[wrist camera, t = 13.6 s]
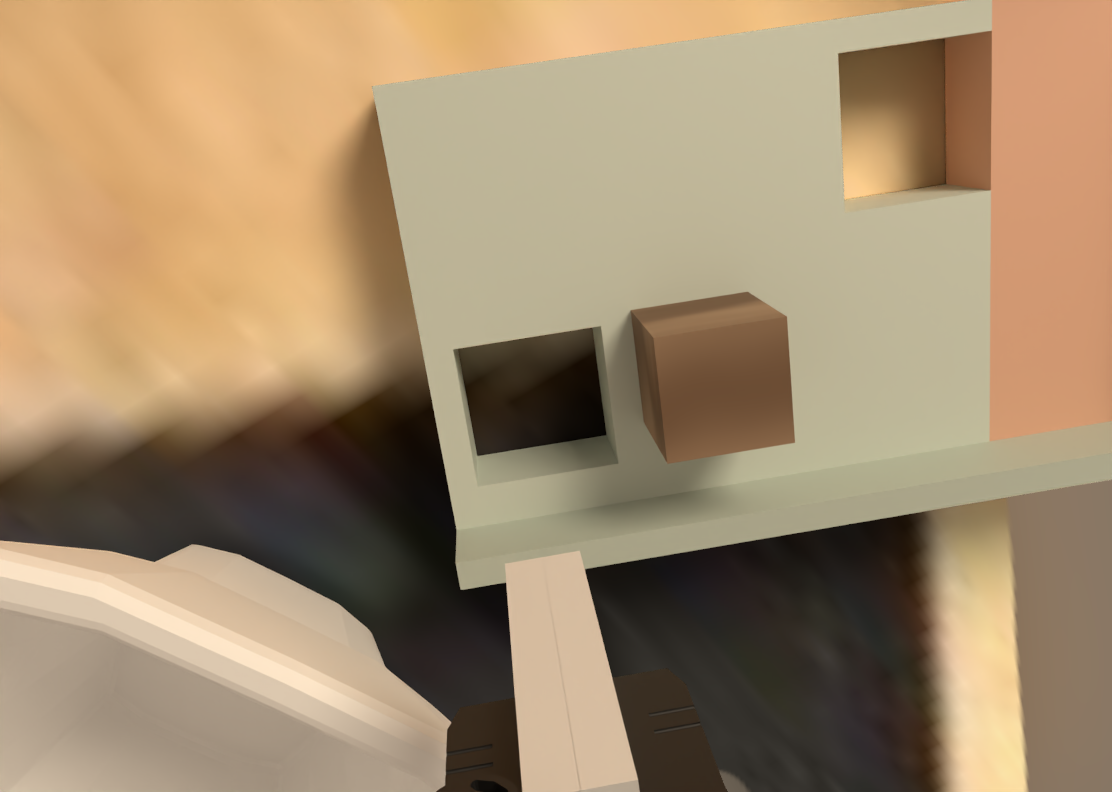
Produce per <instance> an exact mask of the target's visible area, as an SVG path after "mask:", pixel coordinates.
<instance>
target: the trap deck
mask: <svg viewBox="0 0 1112 792" xmlns="http://www.w3.org/2000/svg"><path fill="white" fill-rule="evenodd" d="M943 38H945V107H946V184H943V185H937V186H930V187H924V188H917V189H911V190H904V191H898V192H891V193H885V194H878V195H872V196H865V197H859V198H852V199H846V200H844V181H843V158H842V134H841V111H840V87H839V64H838V54H841V53H848V52H855V51H861V50H868V49H875V48H882V47H889V46H896V45H902V44H909V43H916V42H923V41H930V40H936V39H943ZM372 89H373V95H374V100H375V105H376V110H377V116H378V121H379V126H380V131H381V136H382V142H383V147H384V152H385V157H386V163H387V168H388V173H389V178H390V184H391V189H392V194H393V199H394V205H395V210H396V215H397V220H398V226H399V231H400V236H401V241H402V246H403V252H404V257H405V262H406V267H407V273H408V278H409V283H410V288H411V294H412V299H413V304H414V309H415V315H416V320H417V325H418V330H419V336H420V341H421V346H422V351H423V356H424V362H425V367H426V372H427V377H428V383H429V388H430V393H431V398H432V404H433V409H434V414H435V419H436V425H437V430H438V435H439V440H440V446H441V451H442V456H443V461H444V466H445V472H446V477H447V482H448V487H449V493H450V498H451V503H452V508H453V514H454V519H455V524H456V529H457V535H456V568H457V573H458V579H459V584H460V589H461V590H464V589H470V588H476V587H482V586H488V585H494V584H499V583H505V582H506V572H505V564H506V563H512V562H518V561H523V560H529V559H535V558H541V557H546V556H552V555H558V554H564V553H569V552H575V551H580V553H581V557H582V561H583V565H584V569H588V568H594V567H600V566H606V565H611V564H617V563H623V562H629V561H635V560H641V559H647V558H653V557H659V556H665V555H670V554H676V553H682V552H688V551H694V550H700V549H706V548H712V547H718V546H724V545H729V544H735V543H741V542H747V541H753V540H759V539H765V538H771V537H777V536H782V535H788V534H794V533H800V532H806V531H812V530H818V529H824V528H830V527H836V526H841V525H847V524H853V523H859V522H865V521H871V520H877V519H883V518H889V517H895V516H900V515H906V514H912V513H918V512H924V511H930V510H936V509H942V508H948V507H953V506H959V505H965V504H971V503H977V502H983V501H989V500H995V499H1001V498H1007V497H1012V496H1018V495H1024V494H1030V493H1036V492H1042V491H1048V490H1054V489H1060V488H1066V487H1071V486H1077V485H1083V484H1089V483H1095V482H1100V481H1107V480H1112V0H965V1H958V2H951V3H944V4H937V5H930V6H923V7H916V8H909V9H902V10H896V11H889V12H882V13H875V14H868V15H861V16H854V17H847V18H840V19H833V20H826V21H820V22H813V23H806V24H799V25H792V26H785V27H778V28H771V29H764V30H757V31H750V32H744V33H737V34H730V35H723V36H716V37H709V38H702V39H695V40H688V41H681V42H675V43H668V44H661V45H654V46H647V47H640V48H633V49H626V50H619V51H612V52H605V53H599V54H592V55H585V56H578V57H571V58H564V59H557V60H550V61H543V62H536V63H529V64H523V65H516V66H509V67H502V68H495V69H488V70H481V71H474V72H467V73H460V74H453V75H447V76H440V77H433V78H426V79H419V80H412V81H405V82H398V83H391V84H384V85H378V86H372ZM742 292H749V293H751V294H752V295H754V296H755V297H757V298H758V299H760V300H762V301H763V302H765V303H766V304H768V305H769V306H771V307H773V308H774V309H776V310H777V311H779V312H781V313H782V314H784V315H785V316H787V324H788V340H789V356H790V371H791V387H792V402H793V418H794V433H795V443H791V444H785V445H779V446H773V447H767V448H760V449H754V450H748V451H742V452H736V453H730V454H724V455H718V456H712V457H706V458H700V459H694V460H688V461H682V462H676V463H670V464H667V462H666V461H665V459H664V457H663V455H662V453H661V452H660V450H659V448H658V446H657V445H656V443H655V441H654V439H653V438H652V436H651V434H650V432H649V430H648V429H647V427H646V425H645V423H644V420H643V411H642V403H641V394H640V386H639V377H638V369H637V360H636V352H635V343H634V335H633V326H632V318H631V310H635V309H641V308H647V307H654V306H660V305H666V304H673V303H679V302H685V301H692V300H698V299H704V298H711V297H717V296H723V295H730V294H736V293H742ZM586 328H593V336H594V343H595V351H596V359H597V366H598V374H599V382H600V389H601V397H602V405H603V412H604V420H605V427H606V435H604V436H598V437H592V438H586V439H580V440H574V441H568V442H561V443H555V444H549V445H543V446H537V447H531V448H525V449H519V450H512V451H506V452H500V453H494V454H488V455H482V456H477V453H476V447H475V441H474V436H473V430H472V425H471V419H470V413H469V408H468V402H467V397H466V391H465V385H464V380H463V374H462V369H461V363H460V357H459V352H458V349H459V348H465V347H472V346H478V345H484V344H491V343H497V342H503V341H510V340H516V339H522V338H529V337H535V336H541V335H548V334H554V333H560V332H567V331H573V330H579V329H586Z"/></svg>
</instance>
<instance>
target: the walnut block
mask: <svg viewBox="0 0 1112 792" xmlns="http://www.w3.org/2000/svg"><path fill="white" fill-rule="evenodd" d="M631 318H632V326H633V335H634V343H635V352H636V360H637V369H638V377H639V386H640V394H641V403H642V411H643V420H644V423H645V425H646V427H647V429H648V430H649V432H650V434H651V436H652V438H653V439H654V441H655V443H656V445H657V446H658V448H659V450H660V452H661V453H662V455H663V457H664V459H665V461H666V462H667V464H670V463H676V462H682V461H688V460H694V459H700V458H706V457H712V456H718V455H724V454H730V453H736V452H742V451H748V450H754V449H760V448H767V447H773V446H779V445H785V444H791V443H795V433H794V418H793V402H792V387H791V371H790V356H789V340H788V324H787V316H785V315H784V314H782V313H781V312H779V311H777V310H776V309H774V308H773V307H771V306H769V305H768V304H766V303H765V302H763V301H762V300H760V299H758V298H757V297H755V296H754V295H752V294H751V293H749V292H742V293H736V294H730V295H723V296H717V297H711V298H704V299H698V300H692V301H685V302H679V303H673V304H666V305H660V306H654V307H647V308H641V309H635V310H631Z"/></svg>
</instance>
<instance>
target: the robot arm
mask: <svg viewBox="0 0 1112 792" xmlns="http://www.w3.org/2000/svg"><path fill="white" fill-rule="evenodd" d="M505 572H506V585H507V598H508V611H509V625H510V638H511V651H512V664H513V677H514V690H515V698H512V699H506V700H501V701H495V702H489V703H484V704H478V705H473V706H467V707H462V708H460V709H459V711H458V712H457V714H456V716H455V717H454V719H453V721H452V722H451V724H450V726H449V727H448V729H447V746H446V754H447V757H446V775H445V786H443V787H442V788H440V789H439V790H437V791H436V792H728V791H727V790H726V788H725V786H724V783H723V780H722V778H721V775H720V773H719V770H718V767H717V765H716V762H715V760H714V757H713V754H712V752H711V749H710V746H709V744H708V741H707V739H706V736H705V733H704V731H703V728H702V726H701V724H700V720H699V718H698V715H697V712H696V710H695V709H694V705H693V702H692V699H691V697H690V694H689V691H688V689H687V686H686V684H685V683H684V682H682V681H681V680H680V679H679V678H678V677H676V676H675V675H674V674H673V673H672V672H671V671H669V670H668V669H667V668H666V669H660V670H655V671H649V672H644V673H638V674H633V675H627V676H622V677H616V678H612V675H611V671H610V667H609V663H608V660H607V656H606V652H605V648H604V644H603V640H602V636H601V632H600V628H599V624H598V620H597V616H596V612H595V608H594V604H593V600H592V597H591V593H590V589H589V585H588V581H587V577H586V573H585V569H584V565H583V561H582V557H581V553H580V551H575V552H569V553H564V554H558V555H552V556H546V557H541V558H535V559H529V560H523V561H518V562H512V563H506V564H505Z"/></svg>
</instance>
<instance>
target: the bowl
mask: <svg viewBox="0 0 1112 792" xmlns="http://www.w3.org/2000/svg"><path fill="white" fill-rule="evenodd" d="M450 724H451V722H450V721H449V720H448V719H447V718H446V717H445V716H444V715H443V714H441V713H440V712H439V711H438V710H437V709H436V708H435V707H434V706H432V705H431V704H430V703H429V702H428V701H426V700H425V699H424V698H423V697H421V696H420V695H419V694H418V693H416V692H415V691H414V690H413V689H411V688H410V687H409V686H408V685H406V684H405V683H404V682H403V681H402V680H400V679H399V678H398V677H397V676H395V675H394V674H393V673H392V672H390V671H389V670H388V669H387V668H386V667H385V665H384V662H383V660H382V658H381V655H380V653H379V650H378V648H377V645H376V643H375V640H374V638H373V635H372V633H371V632H370V630H369V629H368V628H367V627H365V626H364V625H363V624H362V623H361V622H359V621H358V620H357V619H356V618H355V617H353V616H352V615H351V614H350V613H349V612H348V611H346V610H345V609H344V608H343V607H342V606H340V605H339V604H338V603H336V602H334V601H332V600H330V599H328V598H326V597H324V596H322V595H320V594H318V593H316V592H314V591H312V590H310V589H308V588H306V587H304V586H302V585H300V584H298V583H297V582H295V581H293V580H291V579H289V578H287V577H284V576H282V575H280V574H278V573H276V572H274V571H272V570H270V569H268V568H266V567H264V566H262V565H260V564H257V563H255V562H253V561H251V560H249V559H247V558H245V557H243V556H241V555H238V554H234V553H230V552H226V551H222V550H217V549H213V548H209V547H205V546H201V545H190V546H188V547H186V548H183V549H181V550H179V551H177V552H175V553H173V554H171V555H169V556H167V557H164V558H162V559H160V560H158V561H156V562H151V561H147V560H143V559H139V558H135V557H131V556H127V555H123V554H119V553H115V552H111V551H102V550H92V549H82V548H71V547H61V546H50V545H40V544H29V543H19V542H8V541H0V792H436V791H437V790H439V789H440V788H442V787H443V786H445V775H446V757H447V754H446V746H447V729H448V727H449V726H450Z"/></svg>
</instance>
